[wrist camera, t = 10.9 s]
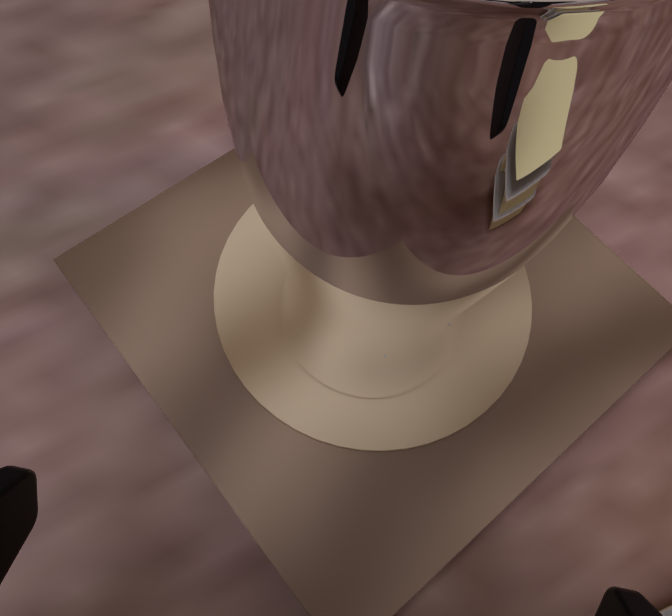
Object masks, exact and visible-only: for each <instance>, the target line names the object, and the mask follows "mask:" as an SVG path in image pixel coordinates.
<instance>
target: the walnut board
mask: <svg viewBox="0 0 672 616" xmlns="http://www.w3.org/2000/svg"><path fill="white" fill-rule="evenodd" d="M53 260H54V262H55V263H56V264H57V266H58V267H59V269H60V270H61V271H62V273H63V274H64V276H65V277H66V278H67V280H68V281H69V282H70V284H71V285H72V287H73V288H74V289H75V291H76V292H77V294H78V295H79V296H80V298H81V299H82V301H83V302H84V303H85V305H86V306H87V307H88V309H89V310H90V312H91V313H92V314H93V316H94V317H95V319H96V320H97V321H98V323H99V324H100V326H101V327H102V328H103V330H104V331H105V332H106V334H107V335H108V337H109V338H110V339H111V341H112V342H113V344H114V345H115V346H116V348H117V349H118V351H119V352H120V353H121V355H122V356H123V357H124V359H125V360H126V362H127V363H128V364H129V366H130V367H131V369H132V370H133V371H134V373H135V374H136V376H137V377H138V378H139V380H140V381H141V382H142V384H143V385H144V387H145V388H146V389H147V391H148V392H149V394H150V395H151V396H152V398H153V399H154V401H155V402H156V403H157V405H158V406H159V407H160V409H161V410H162V412H163V413H164V414H165V416H166V417H167V419H168V420H169V421H170V423H171V424H172V426H173V427H174V428H175V430H176V431H177V432H178V434H179V435H180V437H181V438H182V439H183V441H184V442H185V444H186V445H187V446H188V448H189V449H190V451H191V452H192V453H193V455H194V456H195V457H196V459H197V460H198V462H199V463H200V464H201V466H202V467H203V469H204V470H205V471H206V473H207V474H208V476H209V477H210V478H211V480H212V481H213V483H214V484H215V485H216V487H217V488H218V489H219V491H220V492H221V494H222V495H223V496H224V498H225V499H226V501H227V502H228V503H229V505H230V506H231V508H232V509H233V510H234V512H235V513H236V514H237V516H238V517H239V519H240V520H241V521H242V523H243V524H244V526H245V527H246V528H247V530H248V531H249V533H250V534H251V535H252V537H253V538H254V539H255V541H256V542H257V544H258V545H259V546H260V548H261V549H262V551H263V552H264V553H265V555H266V556H267V558H268V559H269V560H270V562H271V563H272V564H273V566H274V567H275V569H276V570H277V571H278V573H279V574H280V576H281V577H282V578H283V580H284V581H285V583H286V584H287V585H288V587H289V588H290V589H291V591H292V592H293V594H294V595H295V596H296V598H297V599H298V601H299V602H300V603H301V605H302V606H303V608H304V609H305V610H306V612H307V613H308V614H309V616H393V615H394V614H395V613H396V612H397V611H398V610H400V609H401V608H402V607H403V606H404V605H405V604H406V603H407V602H408V601H409V600H410V599H411V598H412V597H413V596H414V595H415V594H416V593H417V592H418V591H419V590H420V589H421V588H422V587H423V586H424V585H425V584H427V583H428V582H429V581H430V580H431V579H432V578H433V577H434V576H435V575H436V574H437V573H438V572H439V571H440V570H441V569H442V568H443V567H444V566H445V565H446V564H447V563H448V562H449V561H450V560H451V559H453V558H454V557H455V556H456V555H457V554H458V553H459V552H460V551H461V550H462V549H463V548H464V547H465V546H466V545H467V544H468V543H469V542H470V541H471V540H472V539H473V538H474V537H475V536H476V535H477V534H479V533H480V532H481V531H482V530H483V529H484V528H485V527H486V526H487V525H488V524H489V523H490V522H491V521H492V520H493V519H494V518H495V517H496V516H497V515H498V514H499V513H500V512H501V511H502V510H503V509H505V508H506V507H507V506H508V505H509V504H510V503H511V502H512V501H513V500H514V499H515V498H516V497H517V496H518V495H519V494H520V493H521V492H522V491H523V490H524V489H525V488H526V487H527V486H528V485H529V484H531V483H532V482H533V481H534V480H535V479H536V478H537V477H538V476H539V475H540V474H541V473H542V472H543V471H544V470H545V469H546V468H547V467H548V466H549V465H550V464H551V463H552V462H553V461H554V460H555V459H557V458H558V457H559V456H560V455H561V454H562V453H563V452H564V451H565V450H566V449H567V448H568V447H569V446H570V445H571V444H572V443H573V442H574V441H575V440H576V439H577V438H578V437H579V436H580V435H581V434H583V433H584V432H585V431H586V430H587V429H588V428H589V427H590V426H591V425H592V424H593V423H594V422H595V421H596V420H597V419H598V418H599V417H600V416H601V415H602V414H603V413H604V412H605V411H606V410H607V409H608V408H610V407H611V406H612V405H613V404H614V403H615V402H616V401H617V400H618V399H619V398H620V397H621V396H622V395H623V394H624V393H625V392H626V391H627V390H628V389H629V388H630V387H631V386H632V385H633V384H634V383H636V382H637V381H638V380H639V379H640V378H641V377H642V376H643V375H644V374H645V373H646V372H647V371H648V370H649V369H650V368H651V367H652V366H653V365H654V364H655V363H656V362H657V361H658V360H659V359H660V358H662V357H663V356H664V355H665V354H666V353H667V352H668V351H669V350H670V349H671V348H672V305H671V304H670V303H669V302H668V301H667V300H666V299H665V298H664V297H662V296H661V295H660V294H659V293H658V292H657V291H656V290H655V289H654V288H653V287H651V286H650V285H649V284H648V283H647V282H646V281H645V280H644V279H643V278H642V277H640V276H639V275H638V274H637V273H636V272H635V271H634V270H633V269H632V268H630V267H629V266H628V265H627V264H626V263H625V262H624V261H623V260H622V259H621V258H619V257H618V256H617V255H616V254H615V253H614V252H613V251H612V250H611V249H610V248H608V247H607V246H606V245H605V244H604V243H603V242H602V241H601V240H600V239H598V238H597V237H596V236H595V235H594V234H593V233H592V232H591V231H590V230H589V229H587V228H586V227H585V226H584V225H583V224H582V223H581V222H580V221H579V220H578V219H576V218H575V217H573V218H572V219H571V220H570V221H569V223H568V224H567V225H566V226H565V227H564V229H563V230H562V231H561V232H560V233H559V234H558V235H557V236H556V237H555V238H554V239H553V240H552V241H551V242H550V243H549V244H548V245H546V246H545V247H544V248H543V249H542V250H541V251H540V252H539V253H538V254H536V255H535V256H534V257H533V258H532V259H531V260H530V261H529V262H527V263H526V264H525V265H524V266H523V267H522V268H521V269H520V270H519V271H517V272H516V273H515V274H514V275H513V276H511V277H510V278H509V279H507V280H506V281H505V282H503V283H502V284H501V285H499V286H498V287H497V288H495V289H494V290H493V291H491V292H490V293H489V294H487V295H486V296H485V297H483V298H482V299H480V300H479V301H478V302H476V303H475V304H473V305H472V306H471V307H469V308H468V309H466V310H465V311H464V312H463V313H462V320H461V325H460V330H459V334H458V337H457V340H456V343H455V345H454V348H453V350H452V352H451V354H450V356H449V358H448V359H447V361H446V362H445V364H444V365H443V366H442V368H441V369H440V370H439V371H438V372H437V373H436V374H435V375H434V376H433V377H431V378H430V379H429V380H428V381H426V382H425V383H423V384H421V385H420V386H418V387H416V388H414V389H412V390H410V391H407V392H405V393H402V394H398V395H395V396H390V397H383V398H362V397H356V396H351V395H347V394H344V393H341V392H338V391H335V390H333V389H331V388H329V387H327V386H325V385H324V384H322V383H320V382H319V381H317V380H316V379H315V378H313V377H312V376H311V375H310V374H309V373H308V372H307V371H306V370H304V368H303V367H302V366H301V365H300V364H299V363H298V361H297V360H296V359H295V357H294V356H293V354H292V353H291V351H290V349H289V347H288V345H287V343H286V341H285V338H284V335H283V331H282V327H281V321H280V298H281V293H282V288H283V284H284V281H285V278H286V275H287V270H286V268H285V266H284V265H283V263H282V261H281V259H280V257H279V255H278V253H277V251H276V249H275V248H274V246H273V244H272V242H271V240H270V238H269V236H268V234H267V232H266V230H265V228H264V226H263V224H262V222H261V220H260V218H259V215H258V213H257V211H256V208H255V206H254V203H253V201H252V198H251V196H250V193H249V191H248V188H247V185H246V183H245V180H244V178H243V175H242V173H241V170H240V167H239V164H238V161H237V157H236V153H235V149H233V150H231V151H229V152H228V153H226V154H224V155H223V156H221V157H220V158H218V159H216V160H215V161H213V162H211V163H210V164H208V165H207V166H205V167H203V168H202V169H200V170H198V171H197V172H195V173H193V174H192V175H190V176H189V177H187V178H185V179H184V180H182V181H180V182H179V183H177V184H176V185H174V186H172V187H171V188H169V189H167V190H166V191H164V192H163V193H161V194H159V195H158V196H156V197H154V198H153V199H151V200H150V201H148V202H146V203H145V204H143V205H141V206H140V207H138V208H136V209H135V210H133V211H132V212H130V213H128V214H127V215H125V216H123V217H122V218H120V219H119V220H117V221H115V222H114V223H112V224H110V225H109V226H107V227H106V228H104V229H102V230H101V231H99V232H97V233H96V234H94V235H93V236H91V237H89V238H88V239H86V240H84V241H83V242H81V243H79V244H78V245H76V246H75V247H73V248H71V249H70V250H68V251H66V252H65V253H63V254H62V255H60V256H58V257H57V258H55V259H53Z"/></svg>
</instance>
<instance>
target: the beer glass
mask: <svg viewBox="0 0 672 616" xmlns="http://www.w3.org/2000/svg"><path fill="white" fill-rule="evenodd" d="M209 8H210V18H211V27H212V35H213V42H214V48H215V55H216V61H217V68H218V74H219V81H220V87H221V94H222V99H223V104H224V108H225V112H226V116H227V120H228V125H229V129H230V133H231V137H232V141H233V145H234V149H235V153H236V157H237V161H238V164H239V167H240V170H241V173H242V175H243V178H244V180H245V183H246V185H247V188H248V191H249V193H250V196H251V198H252V201H253V203H254V206H255V208H256V211H257V213H258V215H259V218H260V220H261V222H262V224H263V226H264V228H265V230H266V232H267V234H268V236H269V238H270V240H271V242H272V244H273V246H274V248H275V249H276V251H277V253H278V255H279V257H280V259H281V261H282V263H283V265H284V266H285V268H286V270H287V275H286V278H285V281H284V284H283V288H282V293H281V298H280V321H281V327H282V331H283V335H284V338H285V341H286V343H287V345H288V347H289V349H290V351H291V353H292V354H293V356H294V357H295V359H296V360H297V361H298V363H299V364H300V365H301V366H302V367H303V368H304V370H306V371H307V372H308V373H309V374H310V375H311V376H312V377H313V378H315V379H316V380H317V381H319V382H320V383H322V384H324V385H325V386H327V387H329V388H331V389H333V390H335V391H338V392H341V393H344V394H347V395H351V396H356V397H362V398H383V397H390V396H395V395H398V394H402V393H405V392H407V391H410V390H412V389H414V388H416V387H418V386H420V385H421V384H423V383H425V382H426V381H428V380H429V379H430V378H431V377H433V376H434V375H435V374H436V373H437V372H438V371H439V370H440V369H441V368H442V366H443V365H444V364H445V362H446V361H447V359H448V358H449V356H450V354H451V352H452V350H453V348H454V345H455V343H456V340H457V337H458V334H459V330H460V325H461V320H462V313H463V312H464V311H465V310H466V309H468V308H469V307H471V306H472V305H473V304H475V303H476V302H478V301H479V300H480V299H482V298H483V297H485V296H486V295H487V294H489V293H490V292H491V291H493V290H494V289H495V288H497V287H498V286H499V285H501V284H502V283H503V282H505V281H506V280H507V279H509V278H510V277H511V276H513V275H514V274H515V273H516V272H517V271H519V270H520V269H521V268H522V267H523V266H524V265H525V264H526V263H527V262H529V261H530V260H531V259H532V258H533V257H534V256H535V255H536V254H538V253H539V252H540V251H541V250H542V249H543V248H544V247H545V246H546V245H548V244H549V243H550V242H551V241H552V240H553V239H554V238H555V237H556V236H557V235H558V234H559V233H560V232H561V231H562V230H563V229H564V227H565V226H566V225H567V224H568V223H569V221H570V220H571V219H572V218H573V217H574V216H575V214H576V213H577V212H578V211H579V210H580V208H581V207H582V206H583V205H584V204H585V203H586V201H587V200H588V199H589V198H590V197H591V195H592V194H593V193H594V192H595V191H596V190H597V188H598V187H599V186H600V185H601V184H602V182H603V181H604V180H605V178H606V177H607V176H608V174H609V173H610V171H611V170H612V169H613V167H614V166H615V164H616V163H617V162H618V160H619V159H620V157H621V156H622V154H623V153H624V152H625V150H626V149H627V147H628V146H629V145H630V143H631V142H632V140H633V139H634V138H635V136H636V135H637V133H638V132H639V130H640V129H641V128H642V126H643V125H644V123H645V122H646V120H647V119H648V117H649V116H650V114H651V113H652V111H653V109H654V108H655V106H656V105H657V103H658V102H659V100H660V98H661V97H662V95H663V94H664V92H665V91H666V89H667V87H668V86H669V84H670V83H671V81H672V0H209Z"/></svg>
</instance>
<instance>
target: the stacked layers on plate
mask: <svg viewBox="0 0 672 616" xmlns="http://www.w3.org/2000/svg"><path fill="white" fill-rule="evenodd" d="M659 612H660V613H661V614H662V615H663V616H672V605H670V606H668V607H666V608H664V609H662V610H660V611H659Z"/></svg>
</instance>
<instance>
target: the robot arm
mask: <svg viewBox="0 0 672 616" xmlns="http://www.w3.org/2000/svg"><path fill="white" fill-rule="evenodd" d="M37 513H38V502H37V479H36V474H35V472H34V471H32V470H30V469H26V468H21V467H16V466H5V467H2V468H0V584H1V582H2V581H3V579H4V577H5V575H6V574H7V572H8V570H9V568H10V567H11V565H12V563H13V561H14V560H15V558H16V556H17V554H18V553H19V551H20V549H21V547H22V546H23V544H24V542H25V540H26V539H27V537H28V535H29V533H30V532H31V530H32V528H33V526H34V524H35V521H36V518H37ZM595 616H663V615H662V614H661V613H660V612H659V611H658V610H657V609H656V608H655V607H654V606H653V605H652V604H651V603H650V602H649V601H648V600H647V599H646V598H645V597H644V596H643V595H641V594H640V593H639V592H637V591H634V590H629V589H625V588H620V587H610V588H609V589H607V591H606V592H605V594H604V596H603V598H602V601H601V603H600V605H599V607H598V610H597V612H596V614H595Z"/></svg>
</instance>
